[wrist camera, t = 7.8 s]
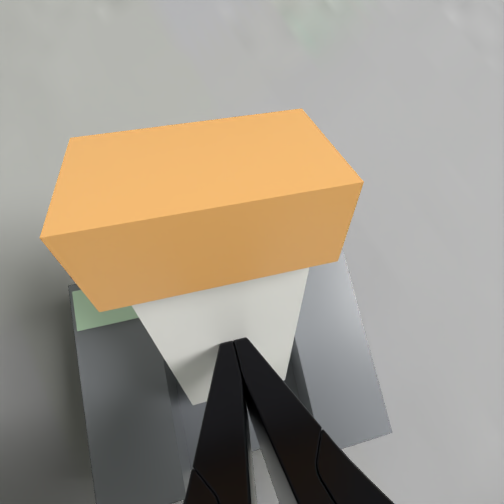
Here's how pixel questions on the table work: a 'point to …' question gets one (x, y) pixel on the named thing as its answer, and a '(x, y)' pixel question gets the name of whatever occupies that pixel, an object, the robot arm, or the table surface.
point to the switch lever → (203, 230)
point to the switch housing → (191, 416)
